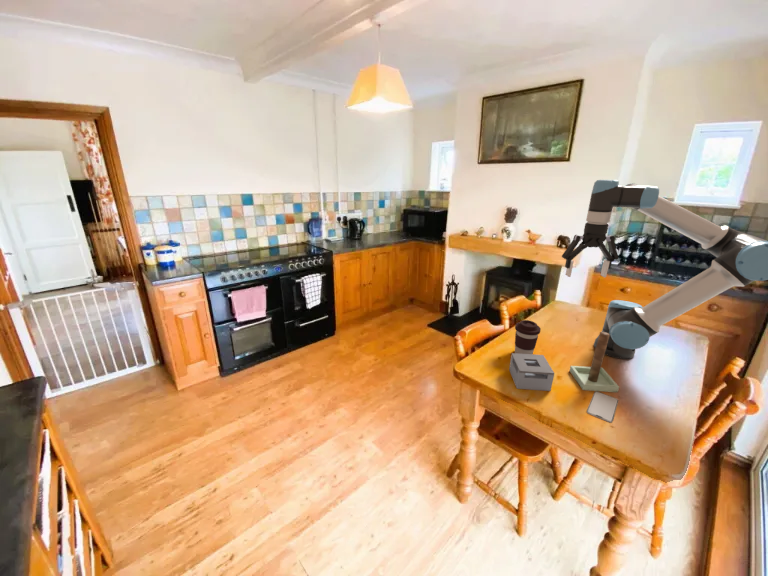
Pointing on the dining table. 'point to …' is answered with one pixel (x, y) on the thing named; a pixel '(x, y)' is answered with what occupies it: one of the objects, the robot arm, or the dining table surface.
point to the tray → (602, 383)
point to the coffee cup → (526, 336)
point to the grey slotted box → (531, 372)
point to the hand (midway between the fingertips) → (585, 276)
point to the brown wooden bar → (598, 356)
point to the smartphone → (602, 406)
